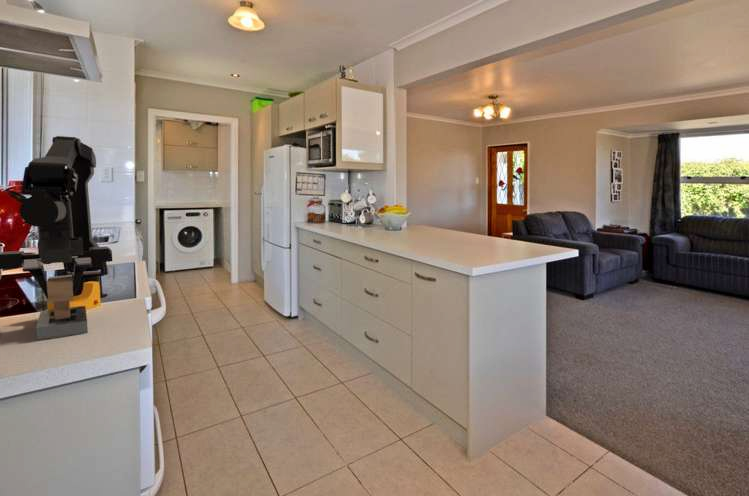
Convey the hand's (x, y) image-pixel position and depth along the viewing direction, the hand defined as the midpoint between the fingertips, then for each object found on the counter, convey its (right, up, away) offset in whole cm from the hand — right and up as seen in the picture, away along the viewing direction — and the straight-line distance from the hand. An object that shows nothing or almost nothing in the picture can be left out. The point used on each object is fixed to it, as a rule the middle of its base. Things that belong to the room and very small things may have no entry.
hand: (61, 297), depth 85 cm
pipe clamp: (-7, -5, +12) cm, 15 cm away
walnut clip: (0, -4, 0) cm, 4 cm away
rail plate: (0, -6, +1) cm, 7 cm away
